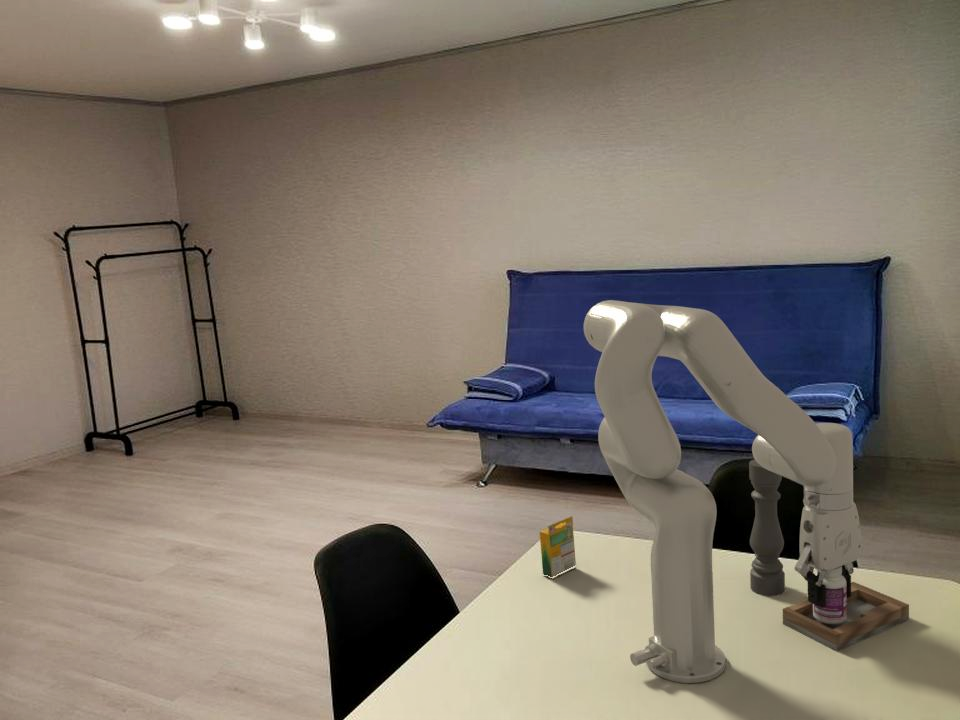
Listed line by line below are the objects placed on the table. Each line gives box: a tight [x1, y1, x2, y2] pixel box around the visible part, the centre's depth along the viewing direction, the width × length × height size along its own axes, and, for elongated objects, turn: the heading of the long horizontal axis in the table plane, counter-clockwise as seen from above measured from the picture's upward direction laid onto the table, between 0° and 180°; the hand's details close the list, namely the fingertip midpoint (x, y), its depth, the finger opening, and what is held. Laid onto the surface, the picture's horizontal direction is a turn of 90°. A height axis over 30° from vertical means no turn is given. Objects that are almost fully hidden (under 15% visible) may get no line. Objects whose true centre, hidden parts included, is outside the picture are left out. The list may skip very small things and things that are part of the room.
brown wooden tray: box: [782, 581, 910, 652], centre depth 136 cm, size 18×11×3 cm, turn 117°
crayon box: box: [539, 515, 577, 577], centre depth 164 cm, size 7×3×12 cm, turn 130°
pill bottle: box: [813, 566, 847, 624], centre depth 134 cm, size 5×5×10 cm
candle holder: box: [748, 458, 786, 597], centre depth 149 cm, size 6×6×25 cm
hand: (829, 598), depth 134 cm, fingers closed on pill bottle, 5 cm apart
